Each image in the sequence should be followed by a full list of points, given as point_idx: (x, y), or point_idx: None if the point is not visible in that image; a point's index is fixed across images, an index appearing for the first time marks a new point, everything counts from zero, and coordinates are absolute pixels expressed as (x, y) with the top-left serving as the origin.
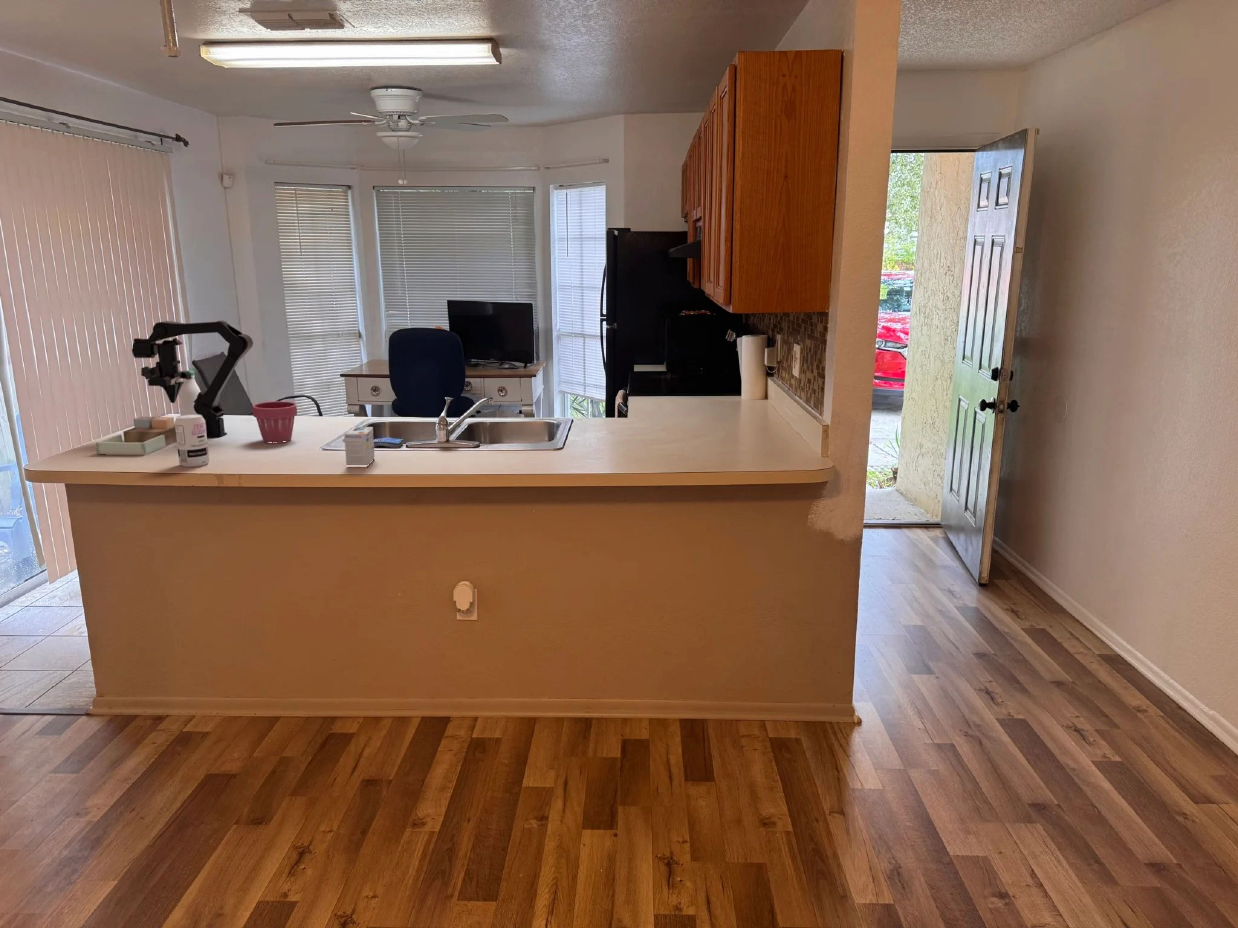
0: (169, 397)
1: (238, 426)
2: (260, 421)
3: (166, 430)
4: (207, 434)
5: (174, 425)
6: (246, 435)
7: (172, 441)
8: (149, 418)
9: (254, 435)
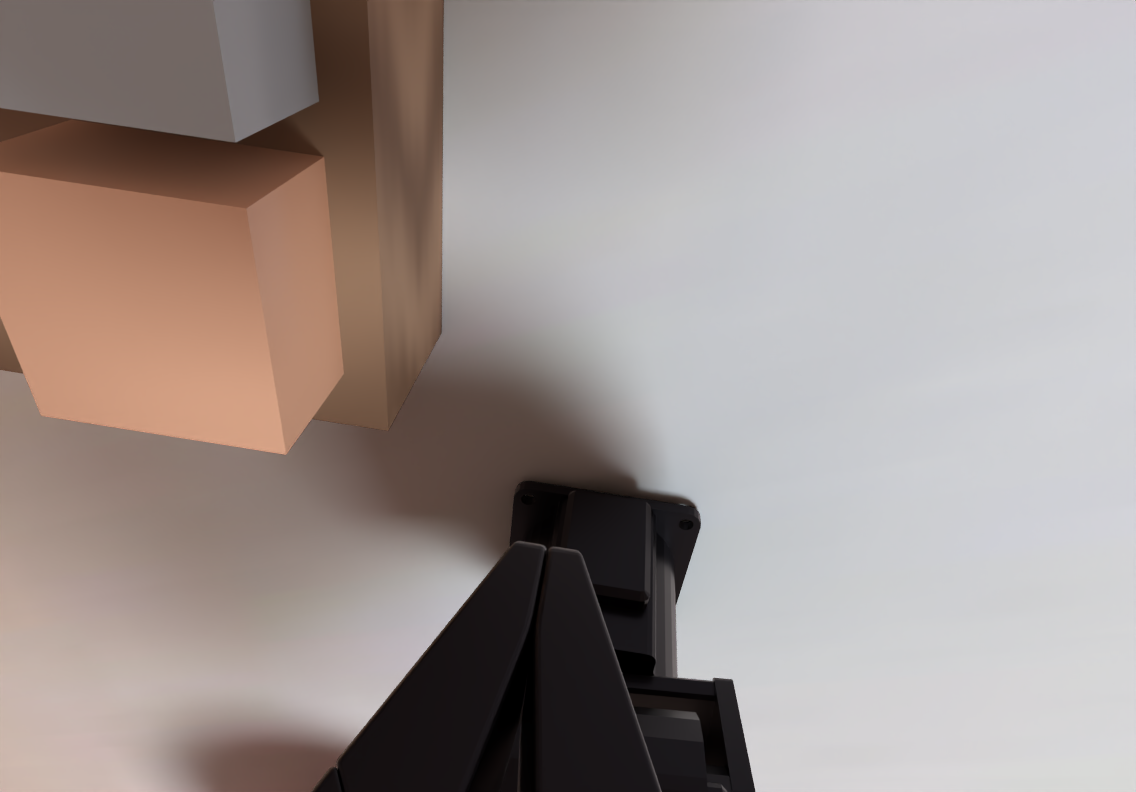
0: (420, 680)
1: (1047, 645)
2: None
3: (19, 371)
4: (528, 541)
5: (342, 373)
6: None
7: None
8: (10, 71)
9: None
